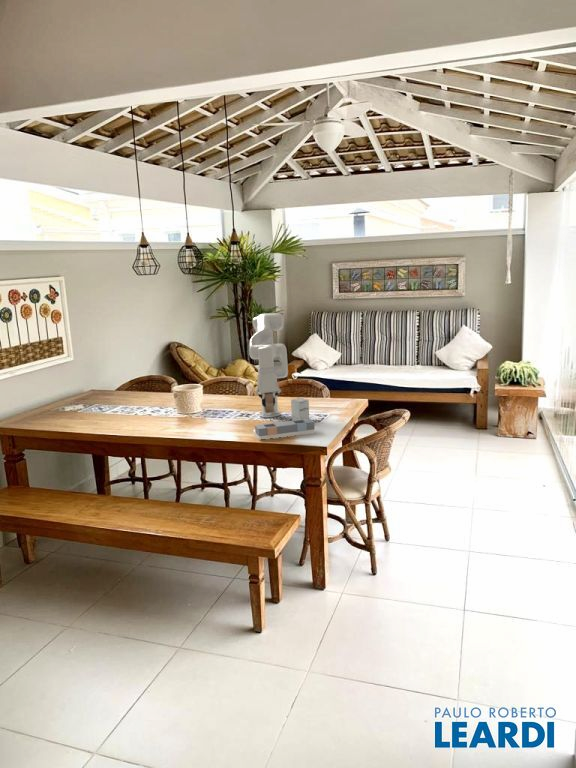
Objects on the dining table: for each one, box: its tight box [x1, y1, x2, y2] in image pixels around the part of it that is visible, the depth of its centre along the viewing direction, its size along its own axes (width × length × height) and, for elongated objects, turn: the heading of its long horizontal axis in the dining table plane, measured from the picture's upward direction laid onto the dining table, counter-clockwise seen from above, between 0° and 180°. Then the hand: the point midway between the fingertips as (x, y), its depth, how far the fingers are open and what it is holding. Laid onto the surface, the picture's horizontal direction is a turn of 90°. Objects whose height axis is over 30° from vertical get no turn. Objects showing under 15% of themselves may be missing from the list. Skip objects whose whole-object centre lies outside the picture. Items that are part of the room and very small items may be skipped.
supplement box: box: [290, 397, 310, 421], centre depth 337 cm, size 7×7×13 cm
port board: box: [252, 418, 316, 441], centre depth 315 cm, size 14×30×6 cm, turn 107°
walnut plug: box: [264, 393, 274, 413], centre depth 306 cm, size 4×4×10 cm
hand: (268, 405), depth 307 cm, fingers closed on walnut plug, 4 cm apart
